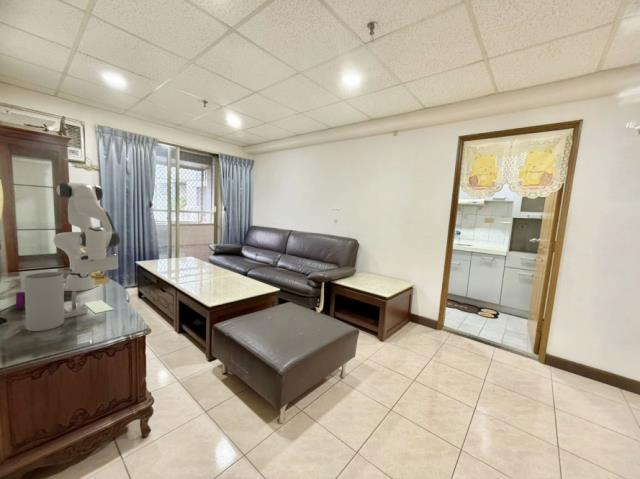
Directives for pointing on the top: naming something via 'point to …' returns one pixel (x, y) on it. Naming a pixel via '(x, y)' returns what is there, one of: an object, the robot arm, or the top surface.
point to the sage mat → (98, 306)
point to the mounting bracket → (20, 300)
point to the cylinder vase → (44, 300)
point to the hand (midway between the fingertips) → (96, 278)
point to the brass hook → (99, 278)
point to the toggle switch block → (74, 307)
